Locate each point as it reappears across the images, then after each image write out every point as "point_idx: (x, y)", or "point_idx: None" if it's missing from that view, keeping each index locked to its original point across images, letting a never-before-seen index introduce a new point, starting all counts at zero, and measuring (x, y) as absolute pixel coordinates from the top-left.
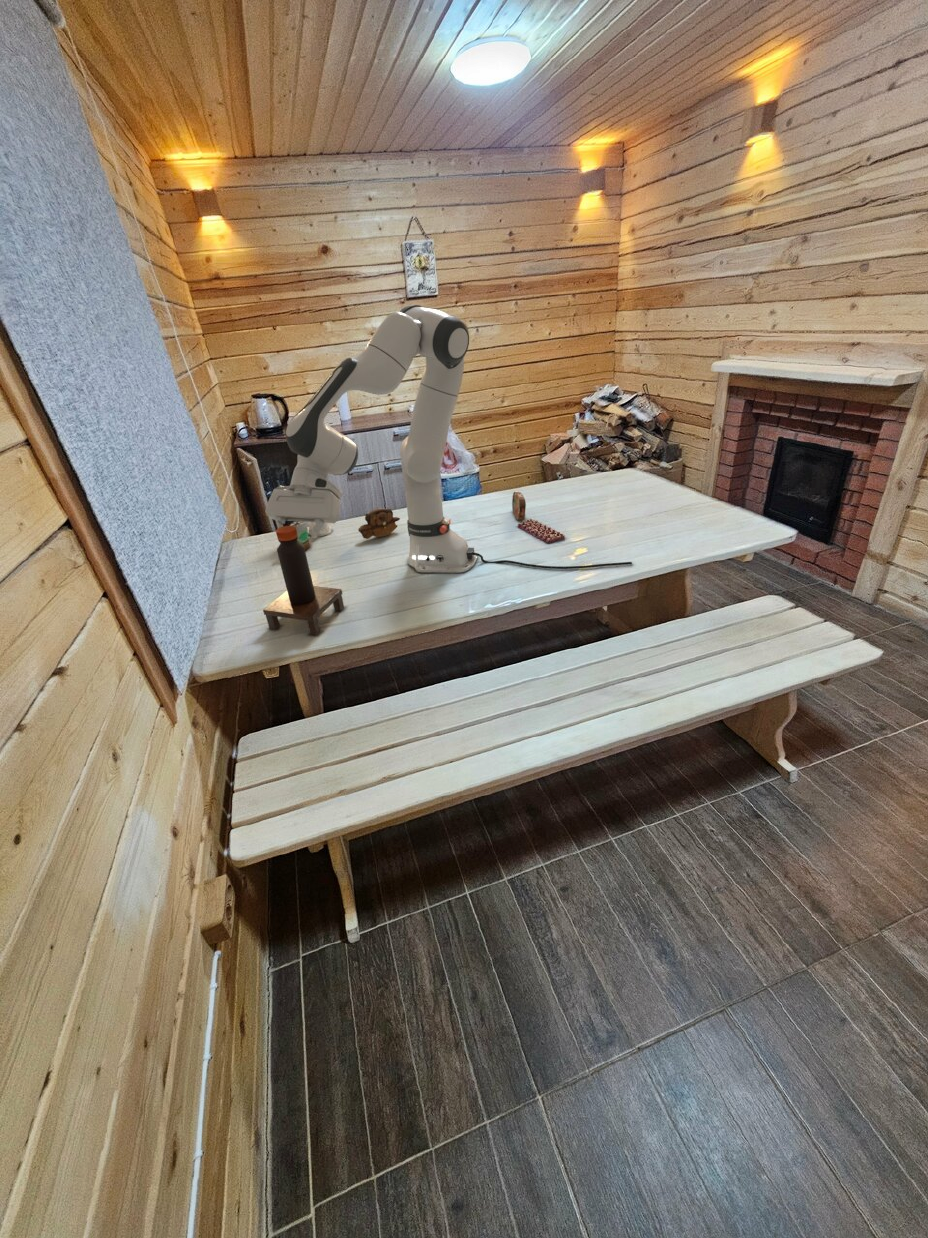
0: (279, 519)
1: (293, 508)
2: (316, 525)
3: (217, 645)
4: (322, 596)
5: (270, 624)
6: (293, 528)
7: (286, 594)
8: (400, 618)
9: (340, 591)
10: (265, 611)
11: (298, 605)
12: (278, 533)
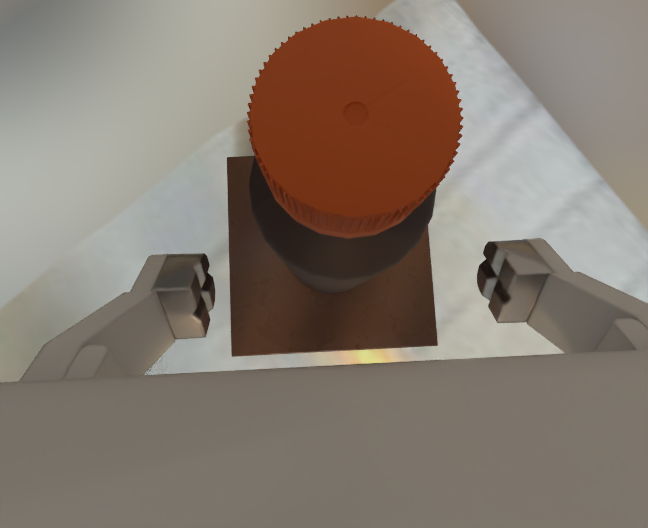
0: (630, 330)
1: (511, 478)
2: (85, 321)
3: (484, 72)
4: (271, 285)
5: None
6: (282, 152)
7: (413, 262)
8: (43, 337)
9: (232, 344)
10: None
11: None
12: (373, 22)
